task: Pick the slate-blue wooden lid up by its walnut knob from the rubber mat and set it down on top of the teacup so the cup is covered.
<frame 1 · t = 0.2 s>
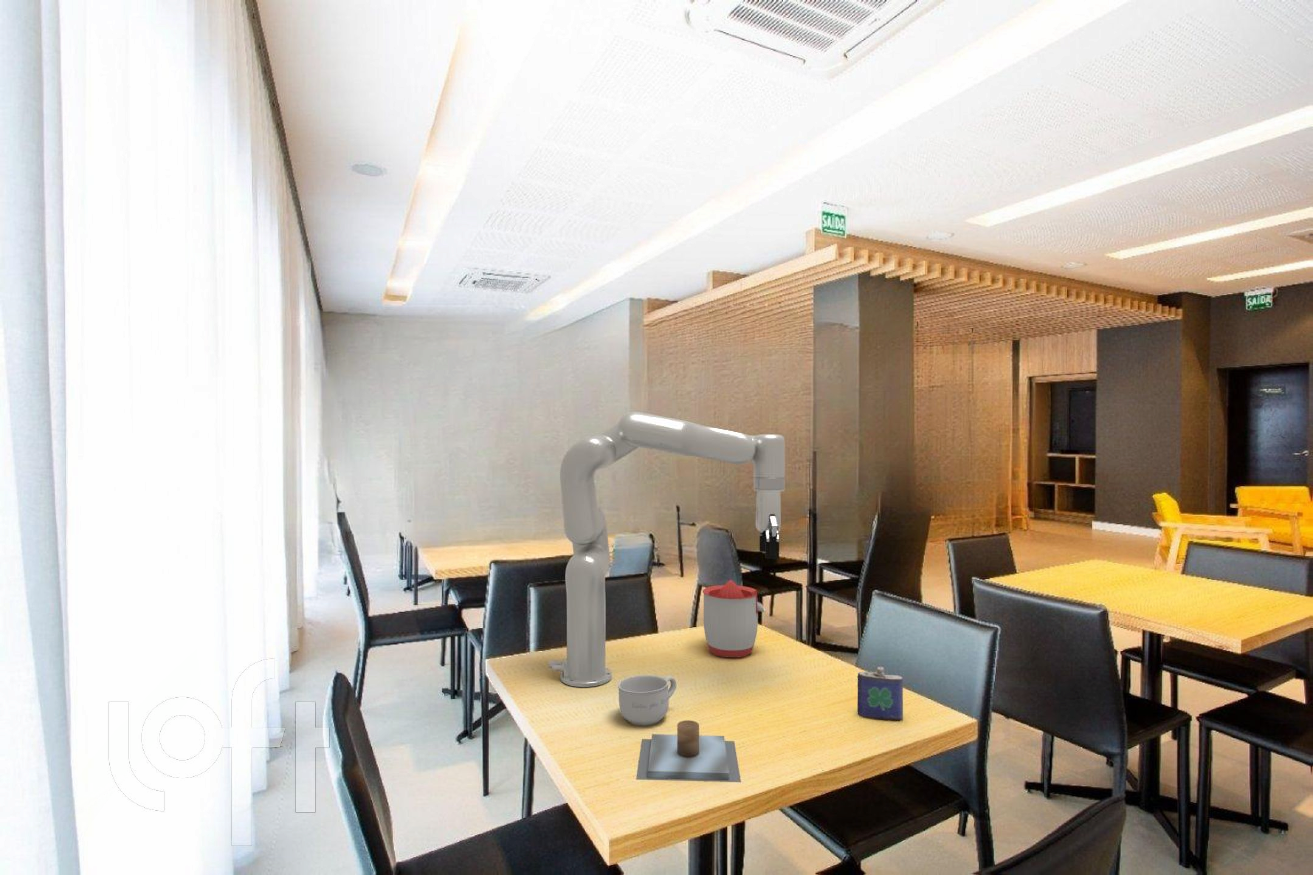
hand: (769, 554, 157), 31 cm above the table, tool pointing down, fingers open, 9 cm apart
lid: (688, 758, 118), resting on mat
teacup: (649, 719, 136), on the table
flask: (879, 718, 137), on the table
mat: (688, 760, 118), on the table
citrus juicer: (733, 652, 179), on the table
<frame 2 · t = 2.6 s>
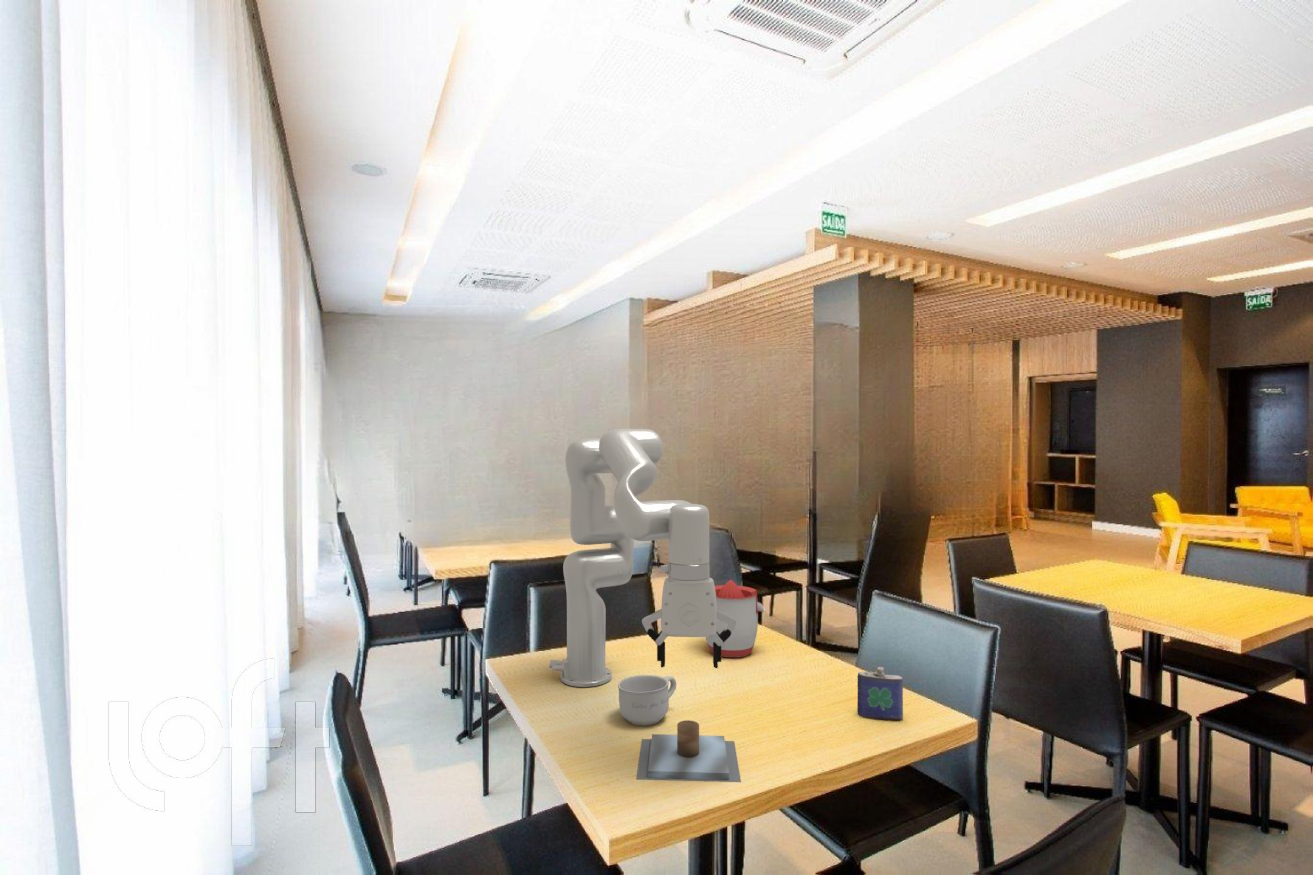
hand: (689, 665, 118), 18 cm above the table, tool pointing down, fingers open, 9 cm apart
nothing on the table moved.
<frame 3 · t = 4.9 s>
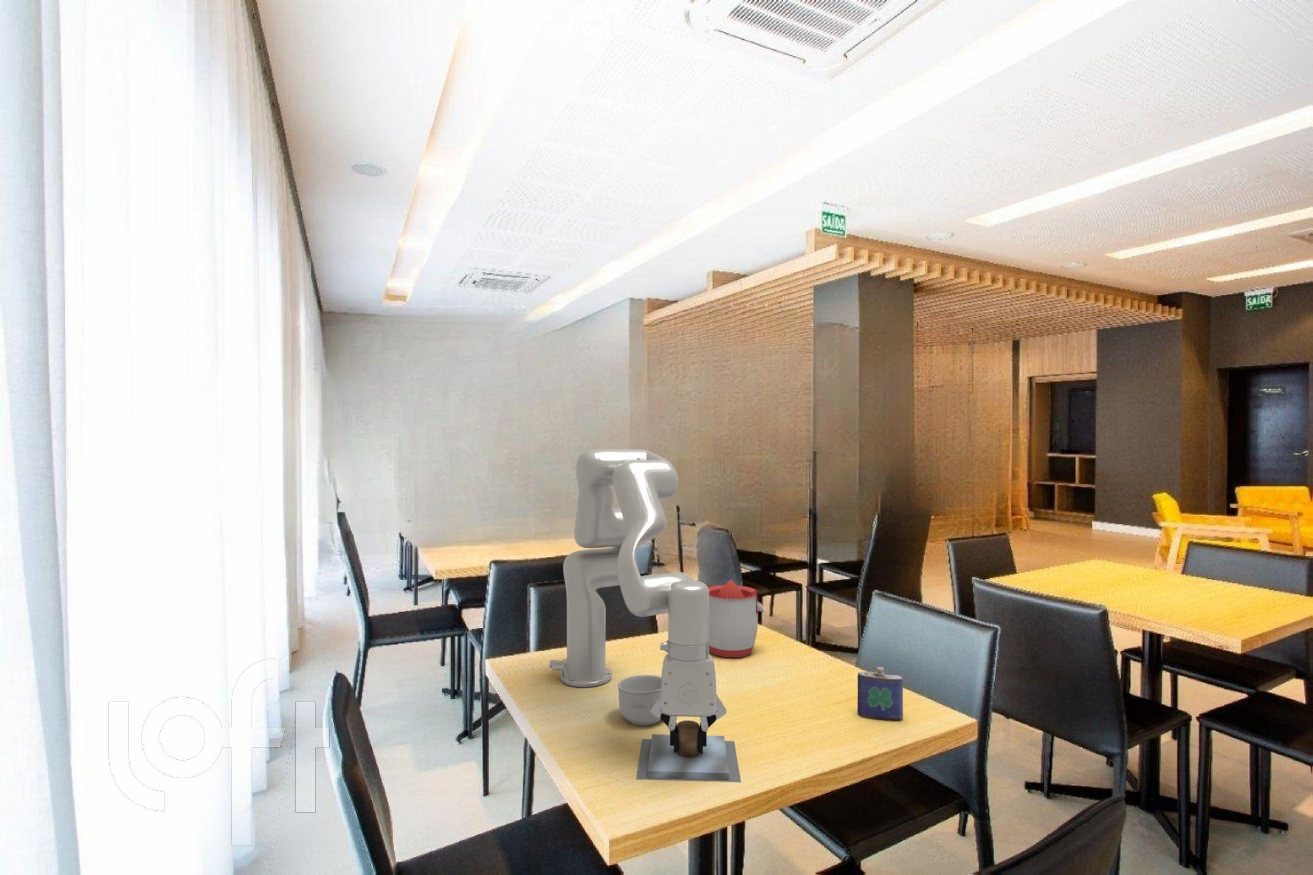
hand: (688, 748, 118), 2 cm above the table, tool pointing down, fingers closed on lid, 4 cm apart
lid: (688, 758, 118), resting on mat, touching gripper
everything else where it was.
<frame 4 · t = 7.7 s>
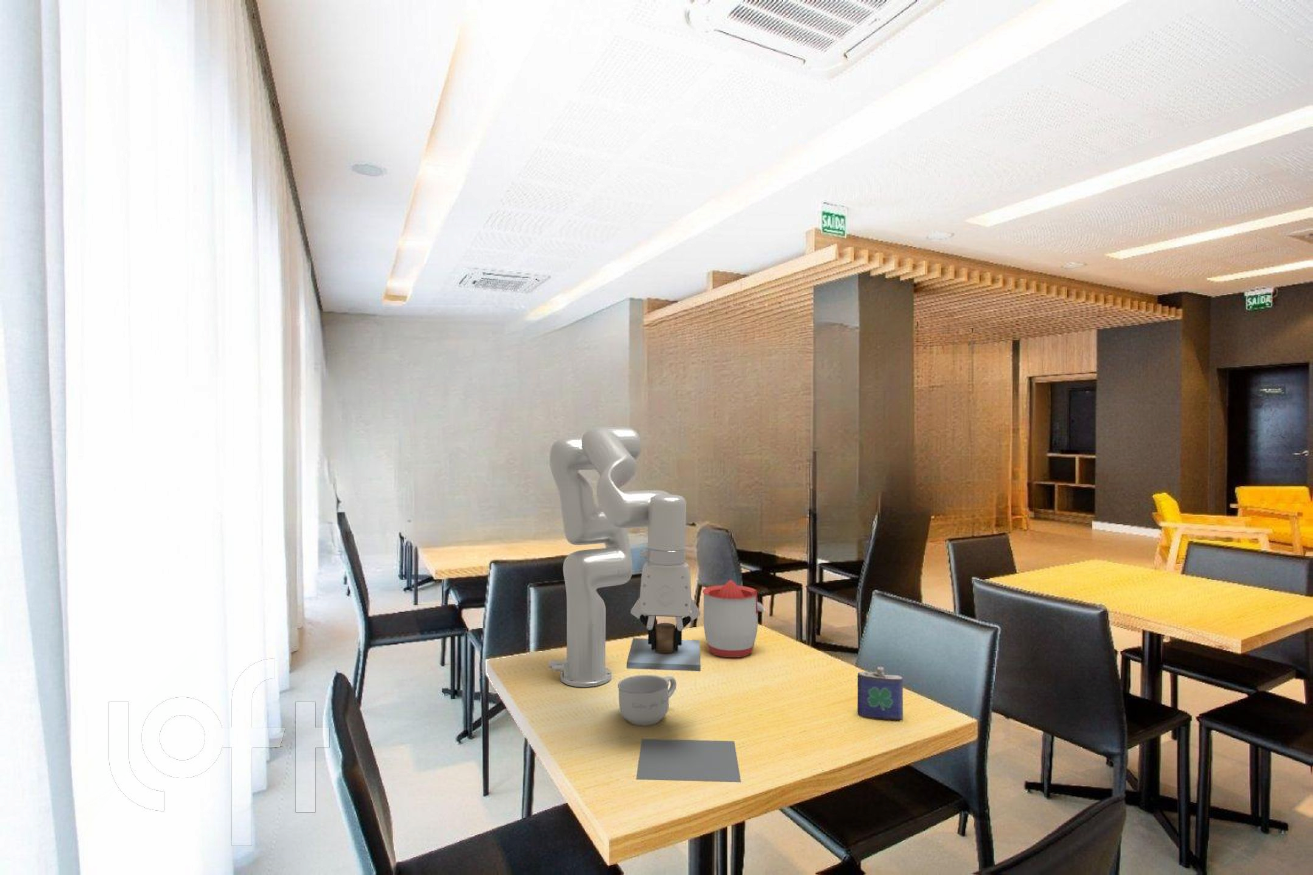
hand: (664, 647, 128), 18 cm above the table, tool pointing down, fingers closed on lid, 4 cm apart
lid: (664, 656, 128), point 16 cm above the table, touching gripper
everything else where it was.
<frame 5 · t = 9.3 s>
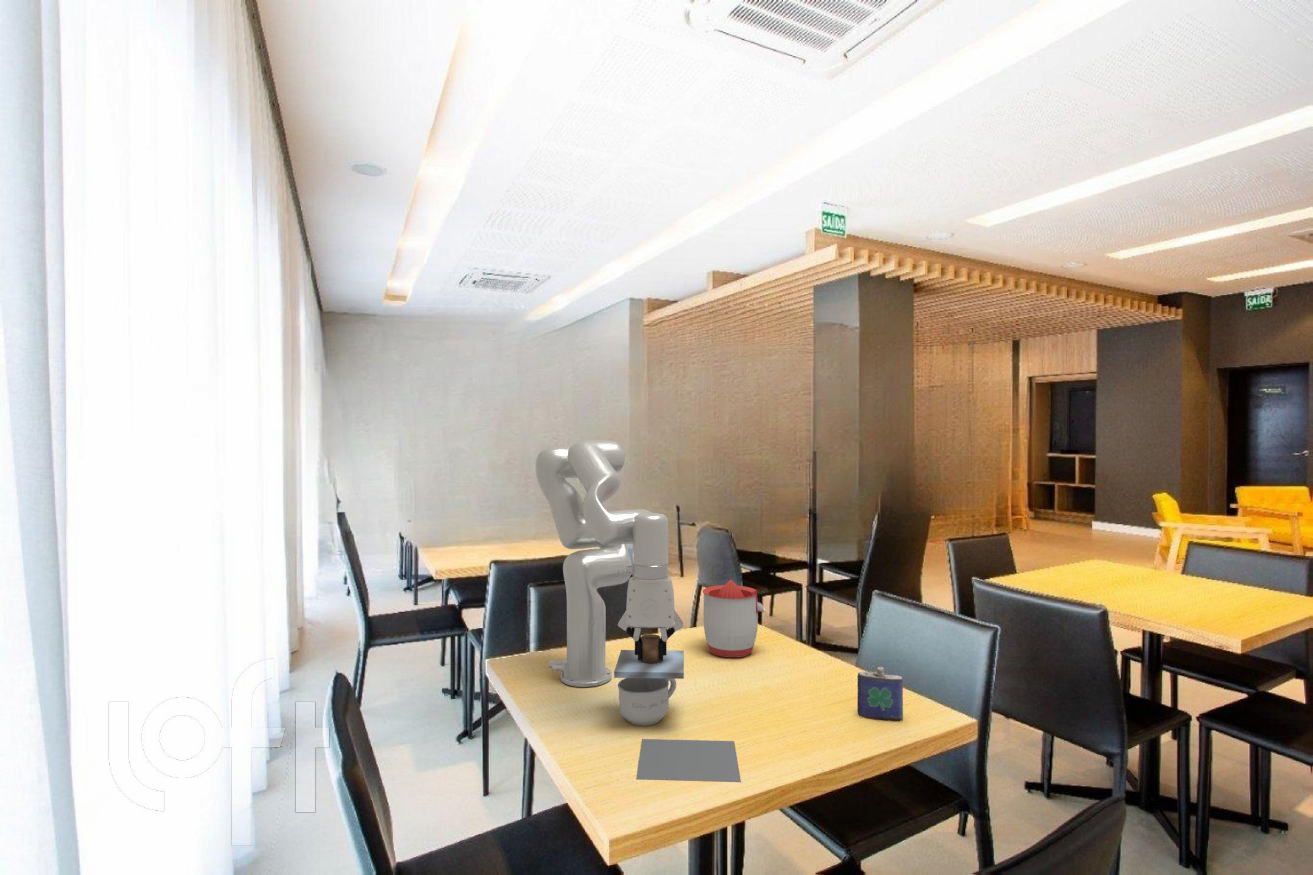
hand: (650, 657, 136), 13 cm above the table, tool pointing down, fingers closed on lid, 4 cm apart
lid: (650, 666, 136), point 11 cm above the table, touching gripper
everything else where it was.
when the fingers open (11 cm above the table, at t = 10.3 s): lid drops 2 cm, resting on teacup.
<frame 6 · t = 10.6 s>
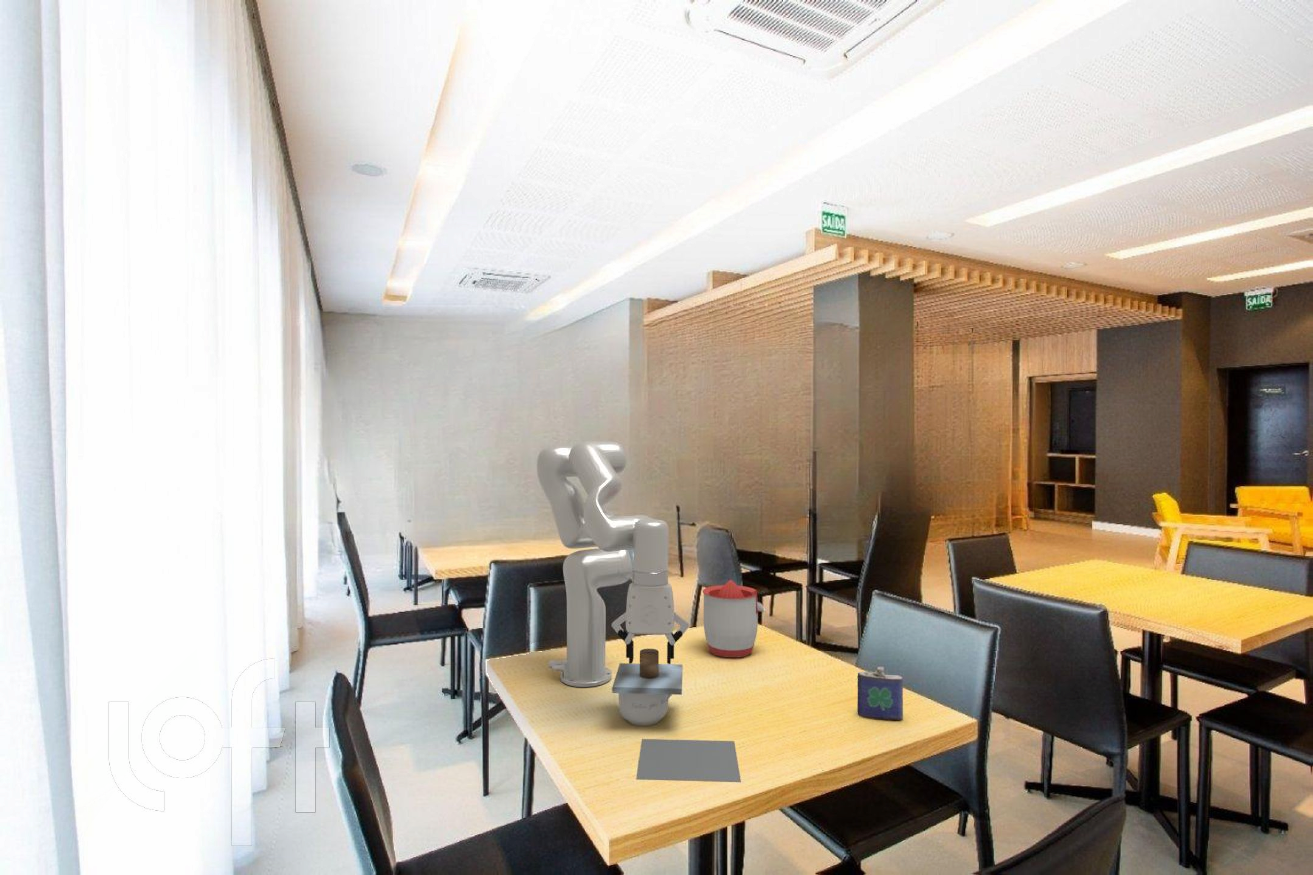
hand: (650, 660, 136), 12 cm above the table, tool pointing down, fingers open, 7 cm apart
lid: (649, 680, 136), point 8 cm above the table, touching teacup
teacup: (649, 719, 136), on the table, touching lid
everything else where it was.
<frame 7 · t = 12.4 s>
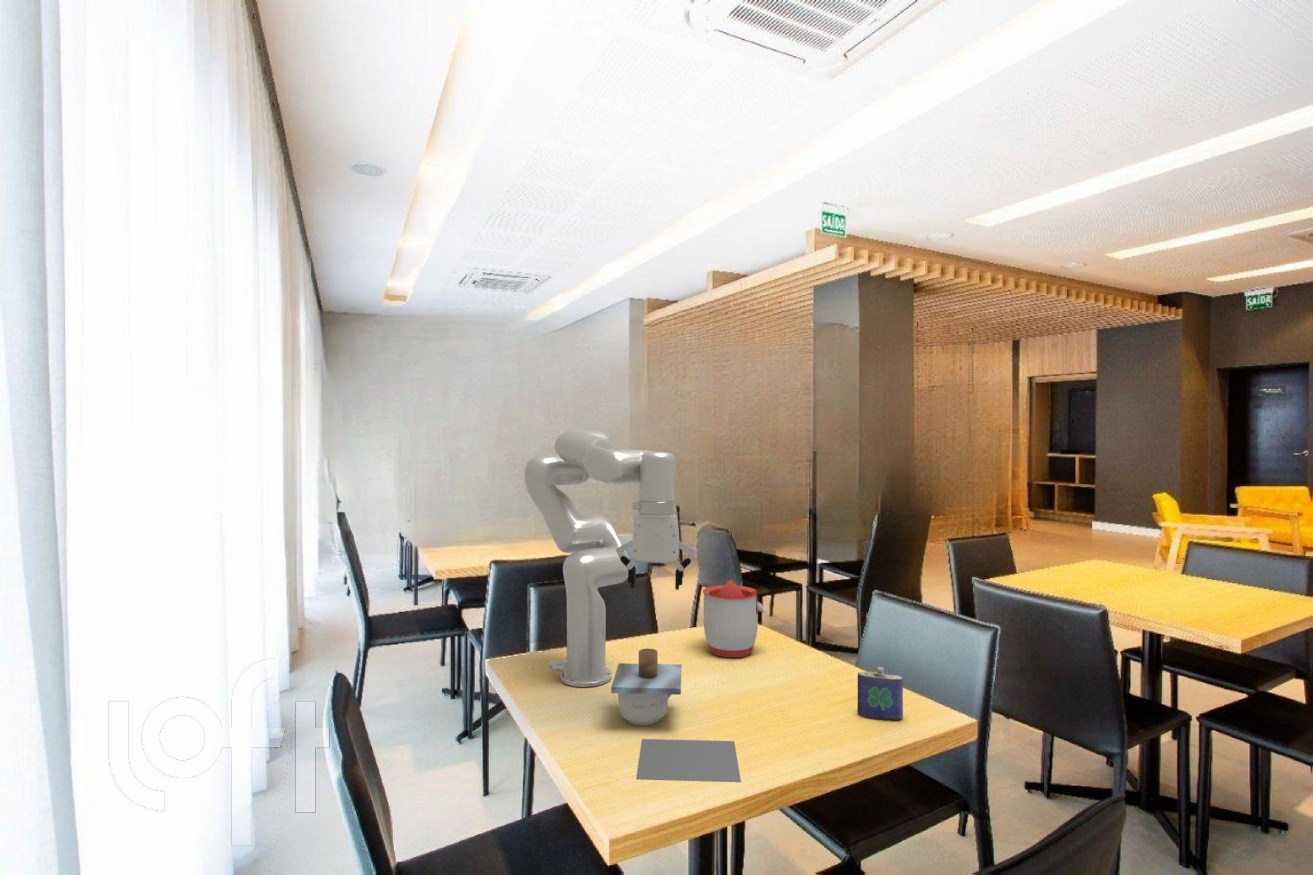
hand: (655, 587, 139), 27 cm above the table, tool pointing down, fingers open, 9 cm apart
nothing on the table moved.
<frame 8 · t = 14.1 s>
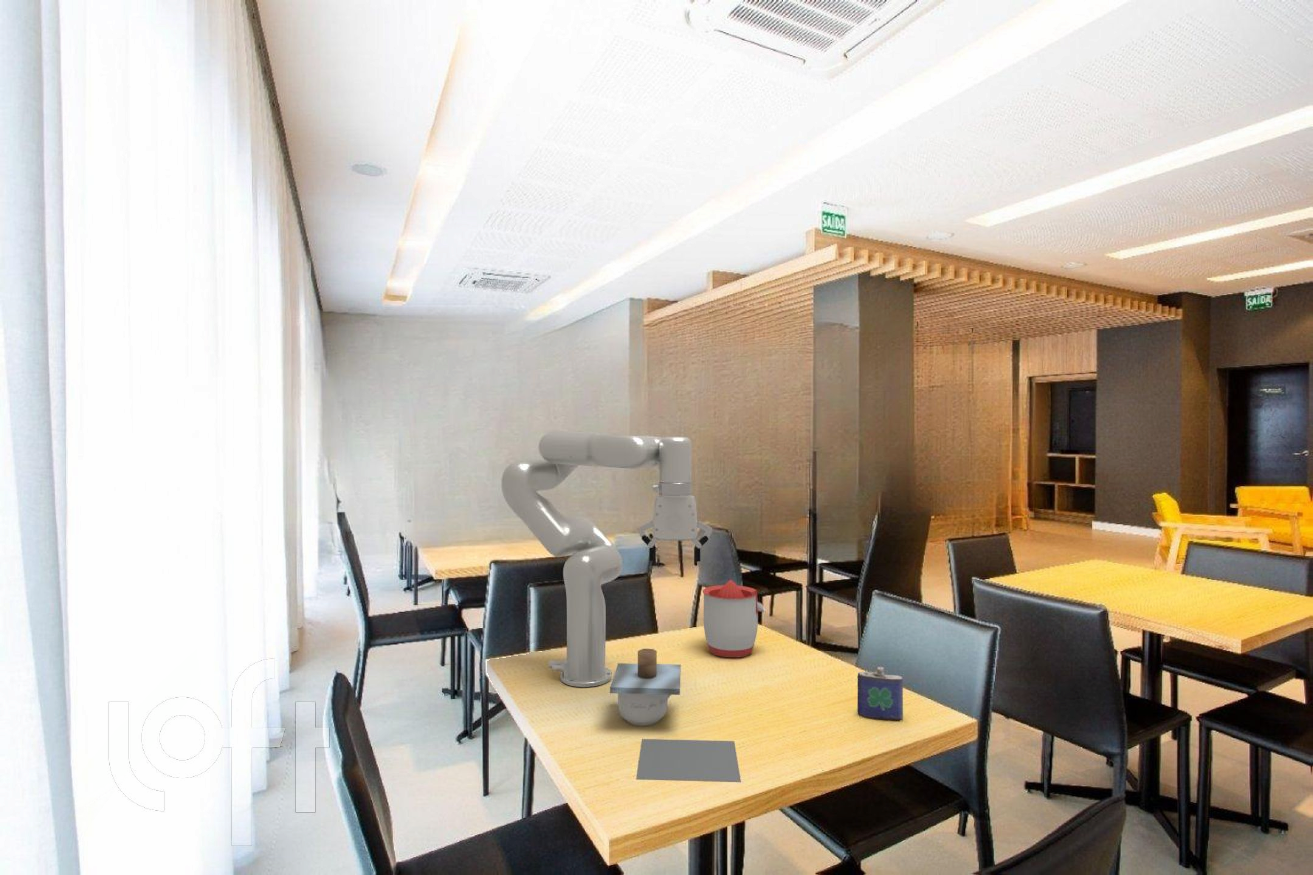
hand: (674, 564, 148), 30 cm above the table, tool pointing down, fingers open, 9 cm apart
nothing on the table moved.
at the end: lid inside the target area on the teacup (0.4 cm from its centre), point 8.2 cm above the teacup's base; lid tilted 0°; the gripper is holding nothing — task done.
